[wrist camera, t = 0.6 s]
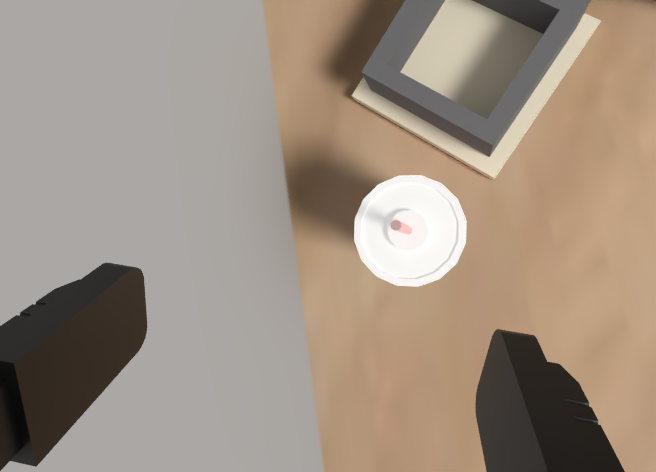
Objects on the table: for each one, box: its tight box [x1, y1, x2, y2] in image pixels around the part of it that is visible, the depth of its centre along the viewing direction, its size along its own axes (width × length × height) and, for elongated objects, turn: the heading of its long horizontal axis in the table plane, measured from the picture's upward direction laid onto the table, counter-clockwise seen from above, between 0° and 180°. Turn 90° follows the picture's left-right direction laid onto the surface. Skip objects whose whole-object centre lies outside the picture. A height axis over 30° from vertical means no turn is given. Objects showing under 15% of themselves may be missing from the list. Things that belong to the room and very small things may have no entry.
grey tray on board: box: [352, 0, 601, 180], centre depth 31 cm, size 12×12×4 cm
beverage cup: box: [354, 175, 466, 287], centre depth 27 cm, size 6×6×14 cm
